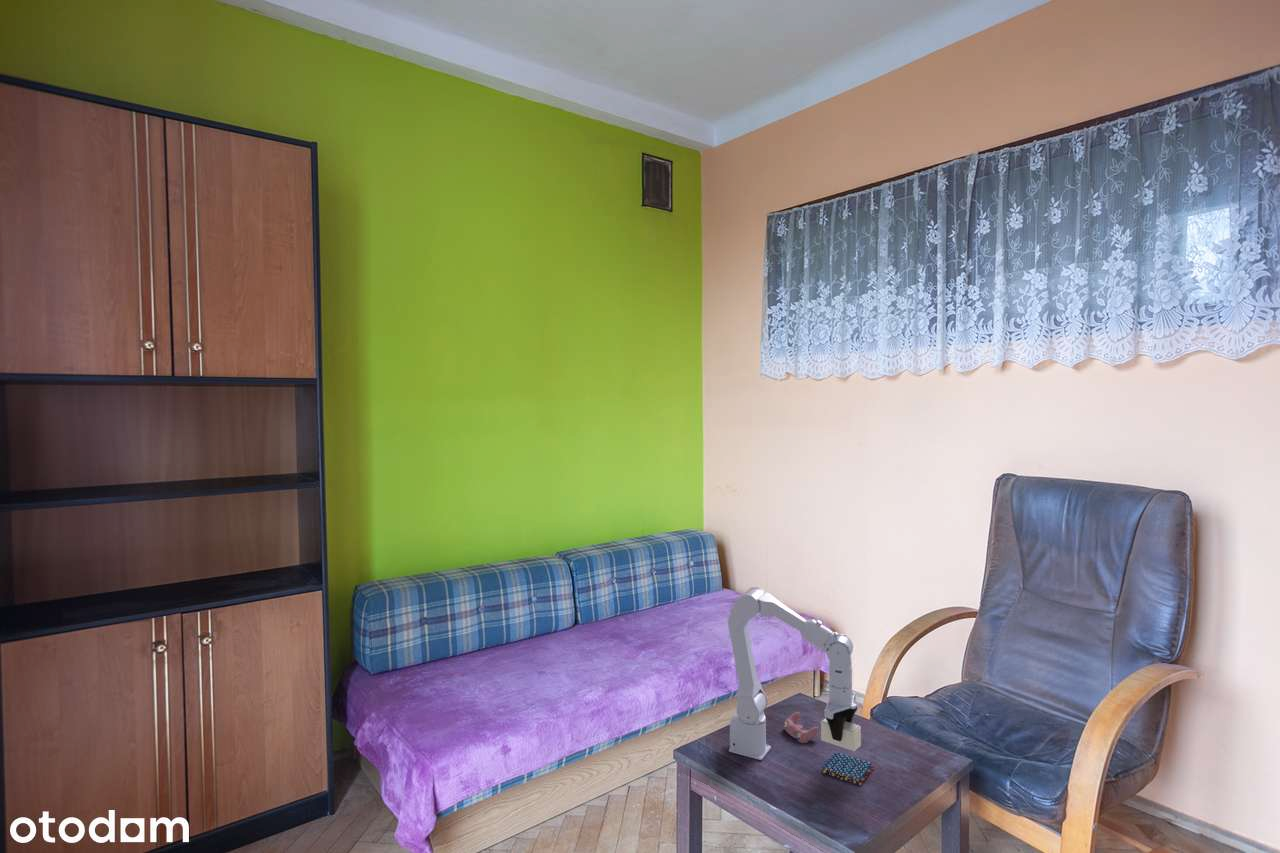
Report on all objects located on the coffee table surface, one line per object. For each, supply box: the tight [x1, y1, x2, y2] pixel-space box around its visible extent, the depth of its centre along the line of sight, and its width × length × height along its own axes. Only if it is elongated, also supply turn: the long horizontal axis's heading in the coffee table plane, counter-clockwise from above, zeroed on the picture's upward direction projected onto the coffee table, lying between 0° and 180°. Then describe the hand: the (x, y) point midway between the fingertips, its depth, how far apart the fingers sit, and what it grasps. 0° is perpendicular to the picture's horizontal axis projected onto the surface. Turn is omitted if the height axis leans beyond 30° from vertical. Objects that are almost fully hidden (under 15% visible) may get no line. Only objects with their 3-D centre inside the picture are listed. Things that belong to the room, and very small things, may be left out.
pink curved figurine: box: [783, 711, 820, 744], centre depth 191 cm, size 10×5×7 cm
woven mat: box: [821, 752, 874, 786], centre depth 172 cm, size 10×11×2 cm
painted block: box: [820, 717, 862, 752], centre depth 172 cm, size 4×9×5 cm, turn 49°
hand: (840, 736), depth 172 cm, fingers closed on painted block, 4 cm apart
